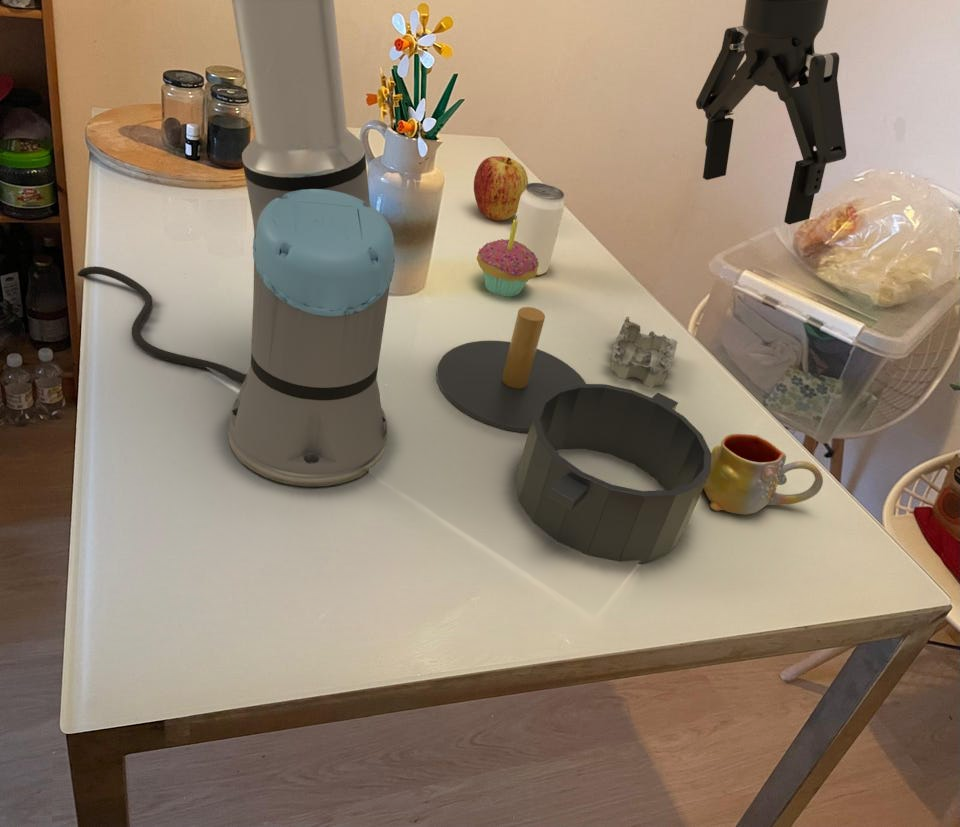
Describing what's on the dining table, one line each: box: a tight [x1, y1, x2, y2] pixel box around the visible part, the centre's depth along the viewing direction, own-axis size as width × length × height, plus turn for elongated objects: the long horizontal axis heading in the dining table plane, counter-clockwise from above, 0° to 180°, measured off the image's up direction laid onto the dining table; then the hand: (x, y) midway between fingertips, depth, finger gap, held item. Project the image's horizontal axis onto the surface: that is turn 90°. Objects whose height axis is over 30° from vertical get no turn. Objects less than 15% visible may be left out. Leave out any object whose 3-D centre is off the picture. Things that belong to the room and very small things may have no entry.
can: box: [514, 182, 565, 277], centre depth 123 cm, size 6×6×12 cm
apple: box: [473, 155, 529, 222], centre depth 137 cm, size 9×9×10 cm
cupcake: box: [476, 214, 539, 297], centre depth 115 cm, size 9×8×12 cm
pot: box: [514, 383, 712, 565], centre depth 82 cm, size 17×22×8 cm
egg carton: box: [610, 316, 678, 388], centre depth 107 cm, size 11×8×4 cm
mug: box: [703, 433, 824, 516], centre depth 87 cm, size 12×7×7 cm, turn 84°
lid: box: [436, 306, 587, 434], centre depth 95 cm, size 18×18×10 cm
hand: (753, 197), depth 93 cm, fingers open, 13 cm apart
